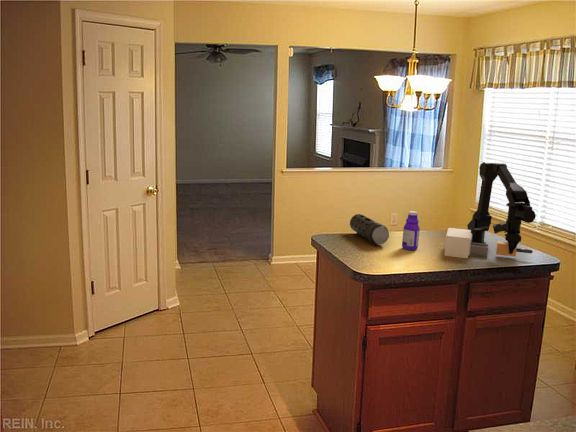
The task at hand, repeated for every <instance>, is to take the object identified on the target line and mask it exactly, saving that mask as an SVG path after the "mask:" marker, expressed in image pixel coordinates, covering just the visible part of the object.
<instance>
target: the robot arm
mask: <svg viewBox="0 0 576 432" xmlns="http://www.w3.org/2000/svg"><path fill="white" fill-rule="evenodd" d="M478 168H479V172H478V173H479V176H480V179H481V185H480V190H479V191H480V192H479V197H478V204H477V209H476V211H475V212H474V213H473V214H472V218H471V220H470V221H469V222H468V224H467V225H466V226H467V230H471V233H472V235H473V237H472V242H473V243H482V244H487V242H485V234H486V232H488V231H489V229H490V226H491V224H492V219H493V216H492V215H490V212H489V210H490V209H489V208H490V203H491V196H492V195H491V194H492V192H493V191H492V189H493V184H494V181H495V179H497V177H498V178H499V180H500V181H501V183H502V185H503V187H504V189H505V190H506V191H505V196H506V200H507V201H508V202H507V203H506V204H505V206H506V207H508V208H507V209H508V211H507V218H506V219H505V221H504V222H499V223H495V224H492V228H493V232H494V233H493V234H498V233H501V232H504V239H505V241H506V242H507V243H508V245H509V254H512V253H513V251H514V250H515V248H516V246H518V245H519V243H520V242H522V235H521V225H522V222H523V223H528V224H531V223H533V222H534V221H535V220H536V216H537V215H536V213H535V211H534V210H533V207H532V206H531V201H530V199H529V196H528V193H527V190H525V188H524V187H523V186H522V185H519V184H518V183H517V182H516V180H515V179H514V177H513V175H512V174H511V171H510V170H509V168H508V165H507V164H506V162H505V163H504V162H496V161H495V162H494V161H493V162H492V161H485V162H484V161H483V162H482V163H480V166H479V167H478Z"/></svg>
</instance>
